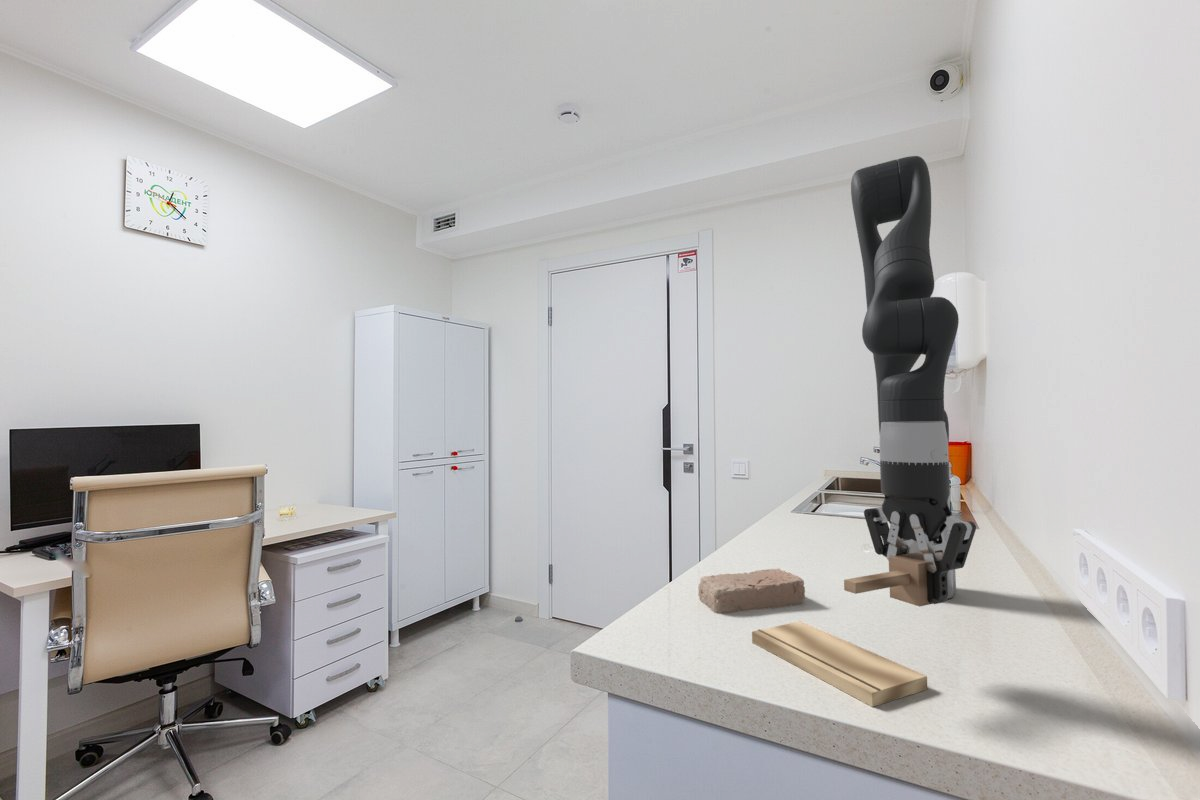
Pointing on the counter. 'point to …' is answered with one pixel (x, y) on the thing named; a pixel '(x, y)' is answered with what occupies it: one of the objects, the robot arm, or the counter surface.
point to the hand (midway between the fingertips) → (918, 596)
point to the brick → (751, 591)
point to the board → (841, 663)
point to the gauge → (897, 580)
